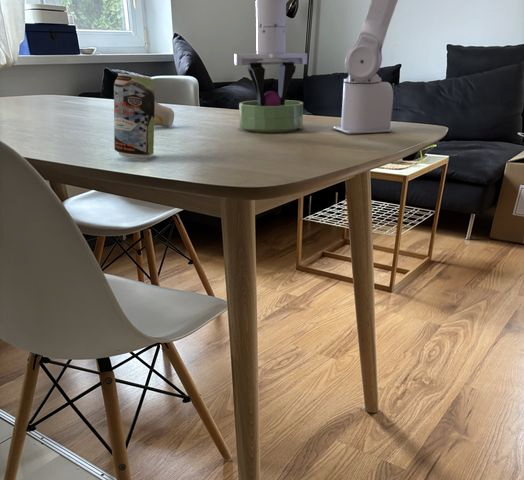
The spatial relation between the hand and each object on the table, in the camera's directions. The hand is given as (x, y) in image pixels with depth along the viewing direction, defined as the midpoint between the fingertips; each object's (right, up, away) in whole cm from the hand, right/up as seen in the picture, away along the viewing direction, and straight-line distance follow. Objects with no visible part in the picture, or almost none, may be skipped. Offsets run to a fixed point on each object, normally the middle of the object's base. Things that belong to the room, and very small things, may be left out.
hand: (271, 104), depth 106 cm
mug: (-26, -2, +6) cm, 27 cm away
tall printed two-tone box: (-22, -20, -24) cm, 38 cm away
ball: (0, +1, 0) cm, 1 cm away
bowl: (0, -4, +2) cm, 5 cm away
